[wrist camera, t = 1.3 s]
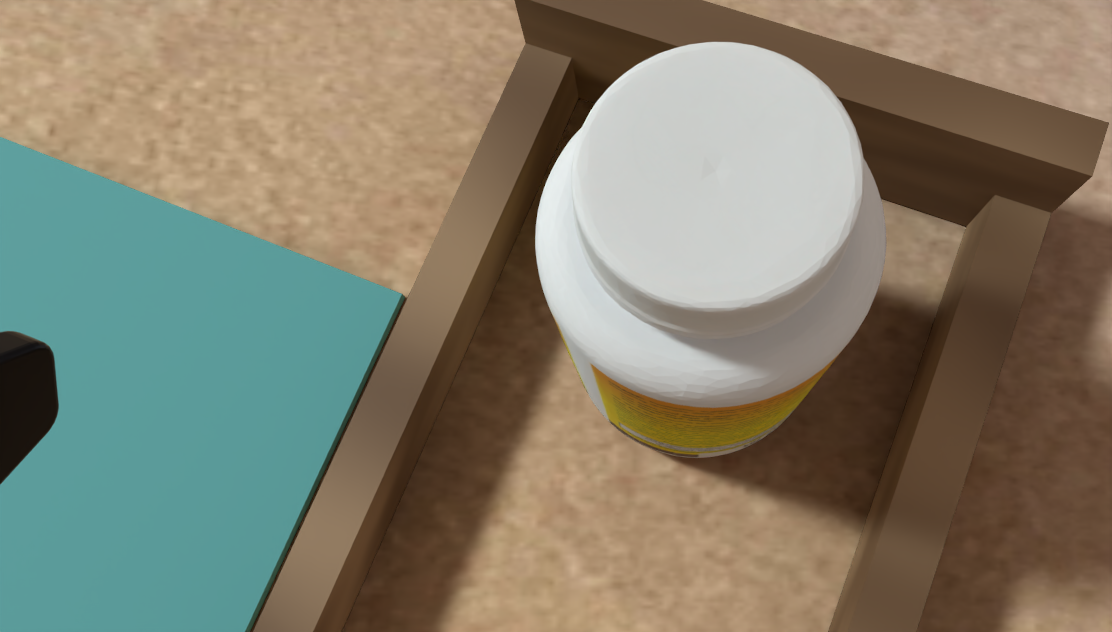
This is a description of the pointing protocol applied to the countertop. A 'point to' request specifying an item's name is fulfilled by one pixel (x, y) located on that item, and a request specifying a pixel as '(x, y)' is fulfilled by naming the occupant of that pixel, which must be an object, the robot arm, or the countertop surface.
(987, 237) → the walnut lane
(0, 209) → the teal mat
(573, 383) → the countertop surface
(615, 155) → the supplement bottle
